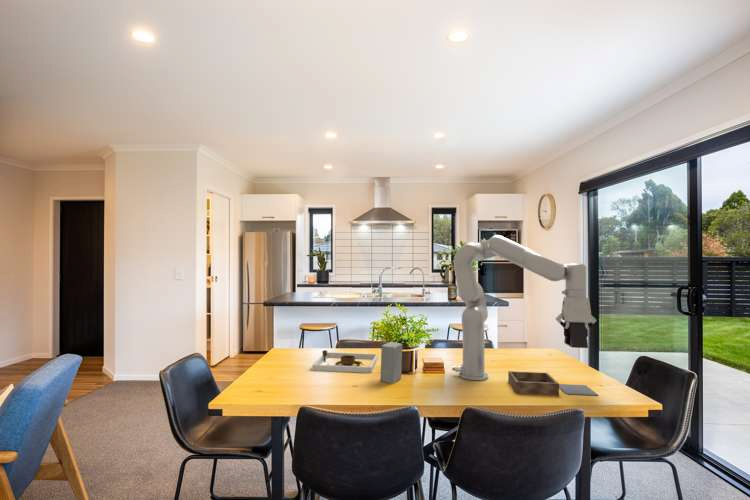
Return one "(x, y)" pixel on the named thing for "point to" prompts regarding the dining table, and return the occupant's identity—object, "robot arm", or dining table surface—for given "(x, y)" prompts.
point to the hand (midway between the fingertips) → (575, 338)
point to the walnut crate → (533, 383)
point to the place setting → (344, 360)
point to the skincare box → (391, 362)
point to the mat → (577, 390)
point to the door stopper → (577, 335)
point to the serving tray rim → (346, 368)
